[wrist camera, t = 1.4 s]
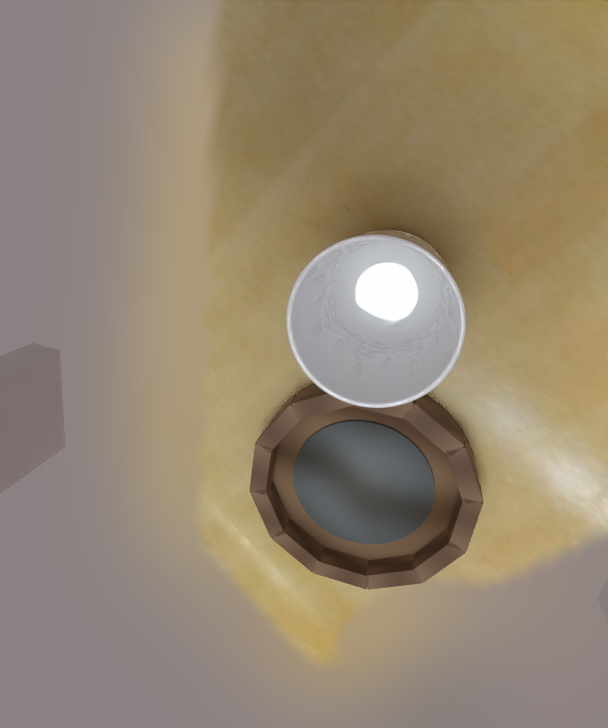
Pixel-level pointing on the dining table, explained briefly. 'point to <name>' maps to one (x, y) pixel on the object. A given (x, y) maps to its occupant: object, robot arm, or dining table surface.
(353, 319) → the white cup
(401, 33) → the dining table surface
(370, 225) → the dining table surface
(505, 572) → the dining table surface
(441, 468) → the tray
